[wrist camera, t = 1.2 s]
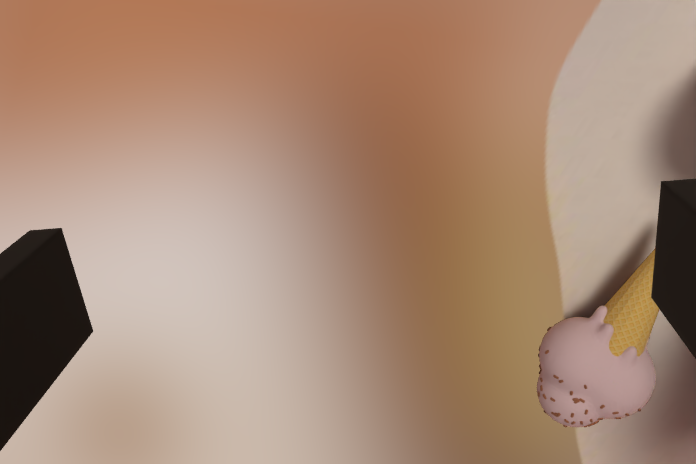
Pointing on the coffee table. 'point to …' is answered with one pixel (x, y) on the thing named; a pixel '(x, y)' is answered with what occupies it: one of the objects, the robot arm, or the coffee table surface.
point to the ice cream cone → (601, 357)
